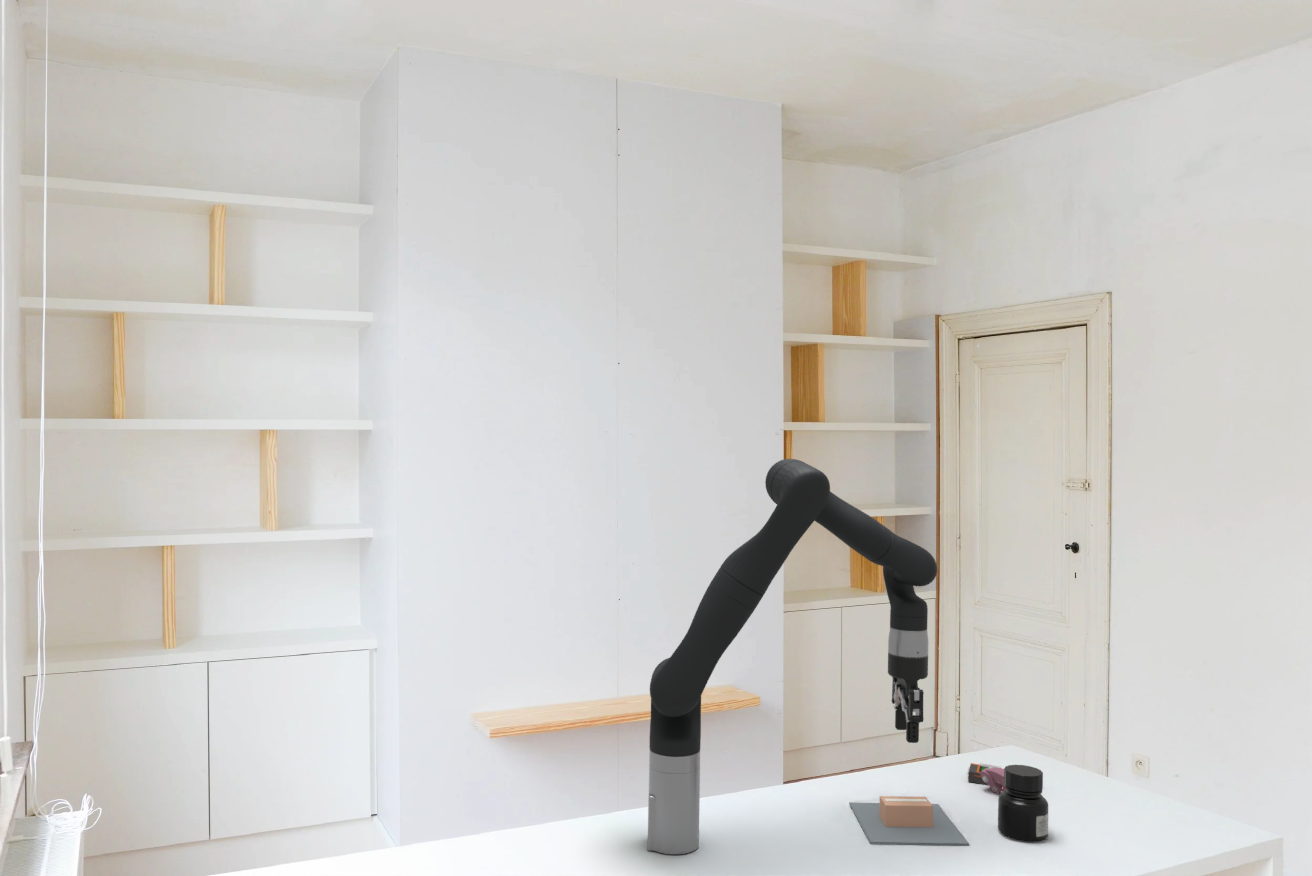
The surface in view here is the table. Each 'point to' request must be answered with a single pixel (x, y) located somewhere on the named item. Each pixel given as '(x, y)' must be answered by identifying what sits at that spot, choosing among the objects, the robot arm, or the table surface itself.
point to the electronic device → (978, 772)
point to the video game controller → (994, 778)
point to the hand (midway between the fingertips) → (906, 735)
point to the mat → (907, 828)
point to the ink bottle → (1023, 805)
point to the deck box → (905, 811)
